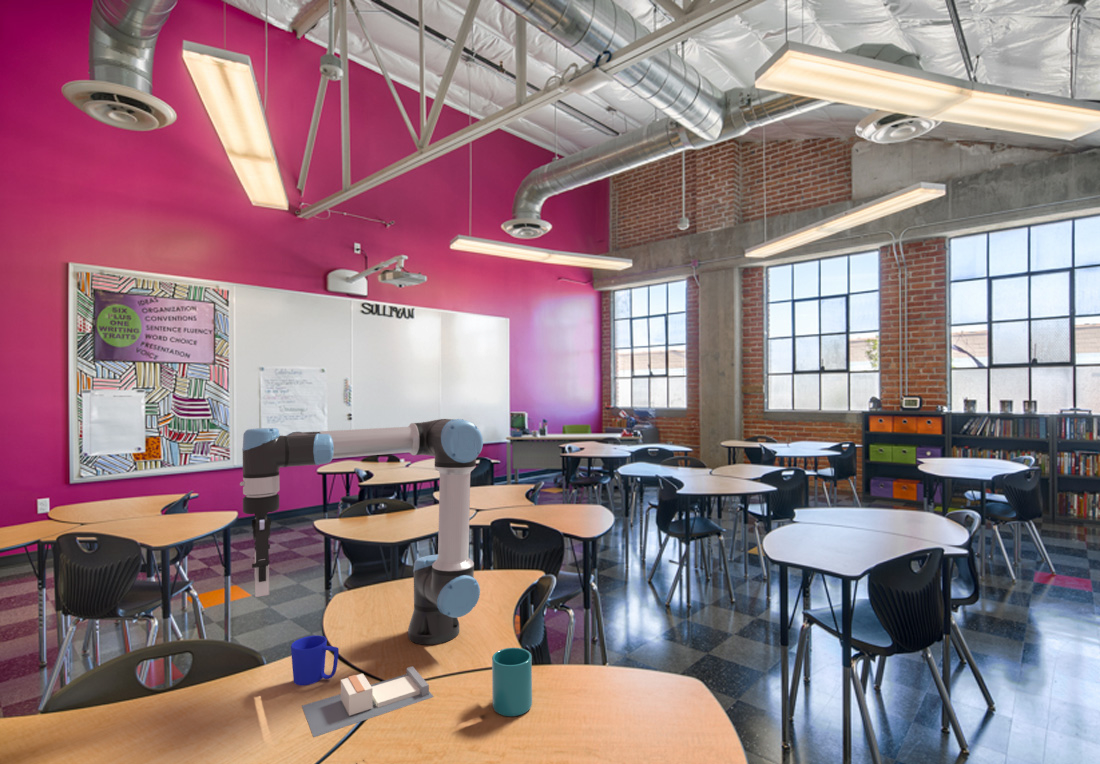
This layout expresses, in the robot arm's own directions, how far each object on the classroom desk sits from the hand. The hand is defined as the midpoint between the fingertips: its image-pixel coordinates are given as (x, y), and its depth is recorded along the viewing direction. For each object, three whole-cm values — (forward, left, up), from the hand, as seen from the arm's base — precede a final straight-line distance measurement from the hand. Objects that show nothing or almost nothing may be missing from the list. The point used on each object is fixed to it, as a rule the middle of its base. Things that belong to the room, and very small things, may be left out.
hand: (261, 586), depth 124 cm
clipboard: (-20, +14, -27) cm, 37 cm away
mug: (-12, -4, -28) cm, 31 cm away
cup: (-48, +32, -28) cm, 64 cm away
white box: (-18, +14, -26) cm, 35 cm away
